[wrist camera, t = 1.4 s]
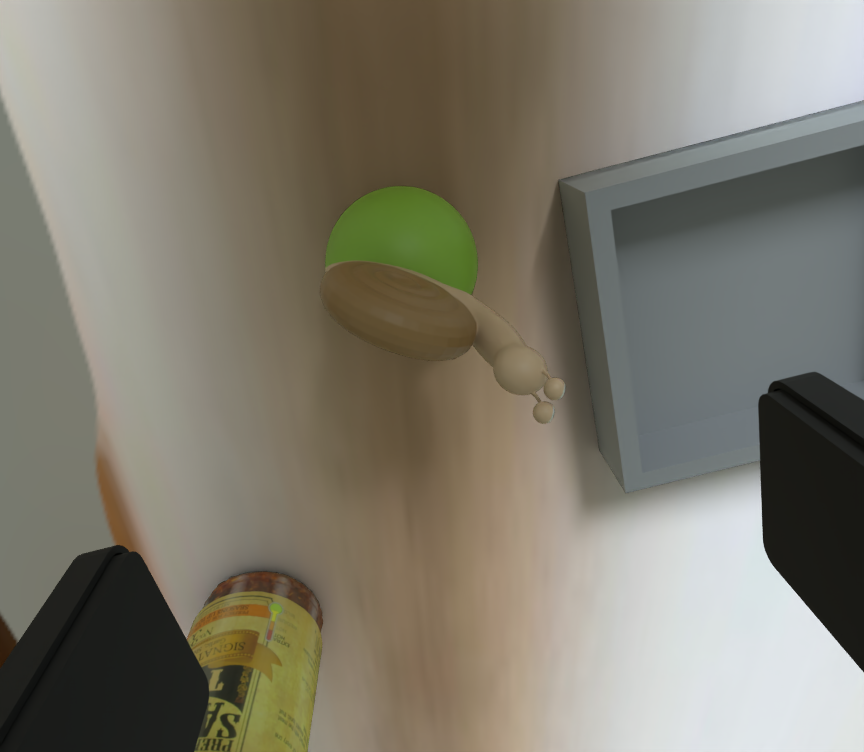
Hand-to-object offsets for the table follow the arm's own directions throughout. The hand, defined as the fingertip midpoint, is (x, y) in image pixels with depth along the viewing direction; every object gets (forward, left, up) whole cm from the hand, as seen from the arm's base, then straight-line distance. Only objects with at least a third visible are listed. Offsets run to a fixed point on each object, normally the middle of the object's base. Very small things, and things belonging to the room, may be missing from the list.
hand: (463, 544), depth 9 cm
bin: (+5, +13, -18) cm, 22 cm away
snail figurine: (0, 0, -18) cm, 18 cm away
